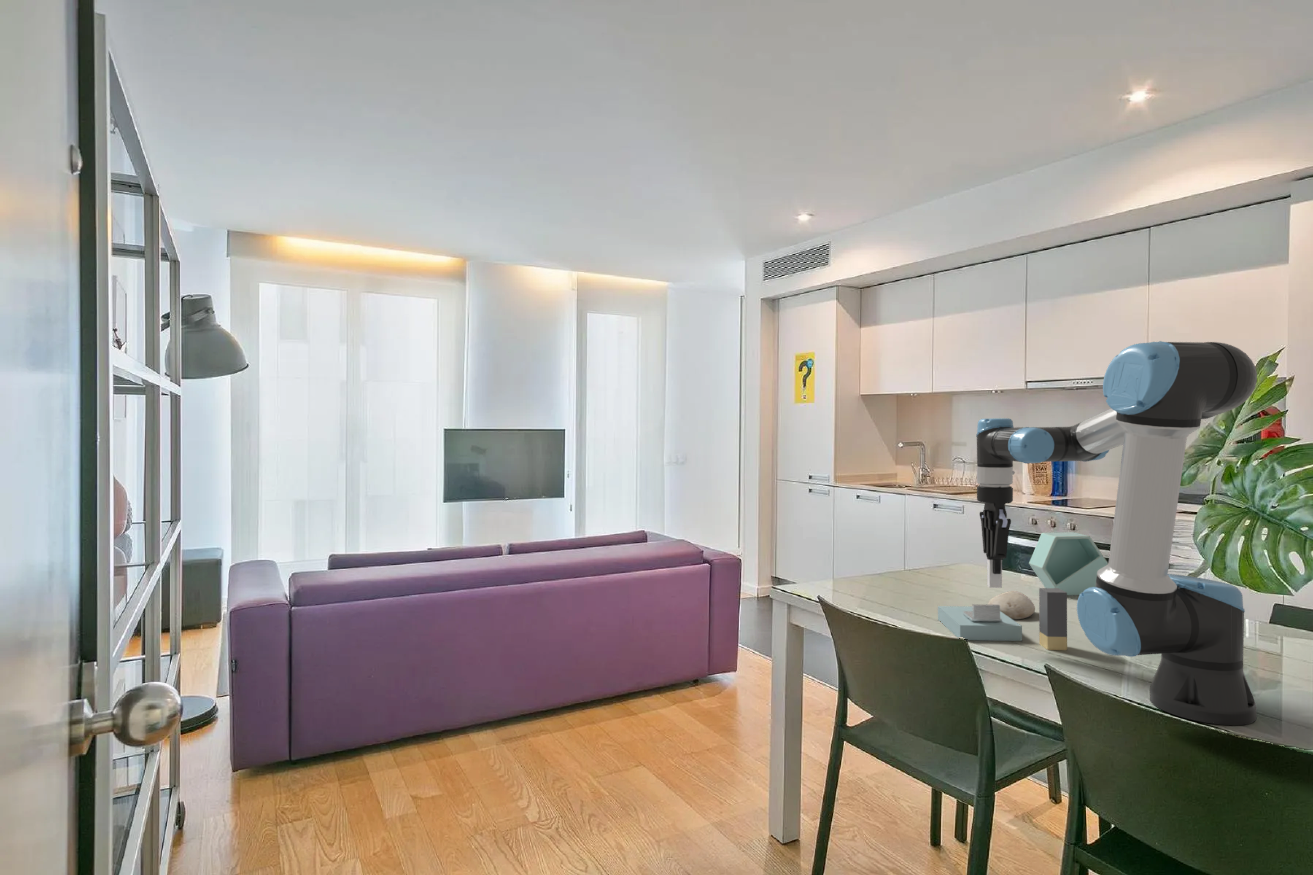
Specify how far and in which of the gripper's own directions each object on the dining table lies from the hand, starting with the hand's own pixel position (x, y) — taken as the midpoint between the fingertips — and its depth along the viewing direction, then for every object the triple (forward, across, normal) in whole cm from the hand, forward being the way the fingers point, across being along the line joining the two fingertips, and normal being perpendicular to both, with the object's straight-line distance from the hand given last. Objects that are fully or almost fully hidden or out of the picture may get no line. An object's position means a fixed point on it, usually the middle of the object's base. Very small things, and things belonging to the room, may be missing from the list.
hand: (994, 586), depth 166 cm
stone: (+14, +27, -14) cm, 33 cm away
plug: (+13, -2, -12) cm, 18 cm away
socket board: (+13, +12, 0) cm, 18 cm away
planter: (+14, +53, -40) cm, 68 cm away
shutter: (+10, +9, 0) cm, 13 cm away
